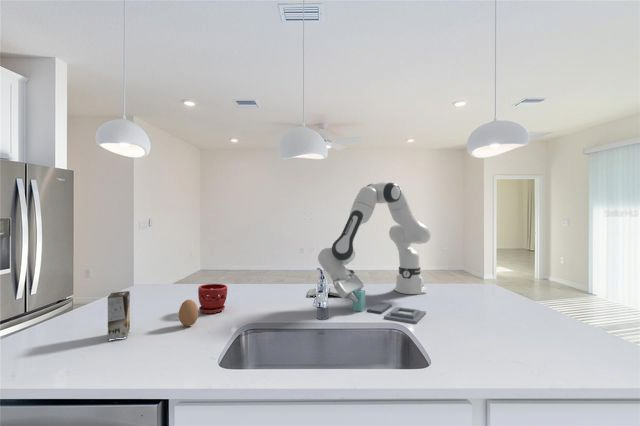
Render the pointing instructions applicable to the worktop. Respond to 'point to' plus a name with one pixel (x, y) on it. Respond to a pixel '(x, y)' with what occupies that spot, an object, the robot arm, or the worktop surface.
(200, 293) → the plant pot
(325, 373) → the worktop surface
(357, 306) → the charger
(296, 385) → the worktop surface
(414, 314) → the plate
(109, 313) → the coffee box
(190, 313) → the egg
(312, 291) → the gadget
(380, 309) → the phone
